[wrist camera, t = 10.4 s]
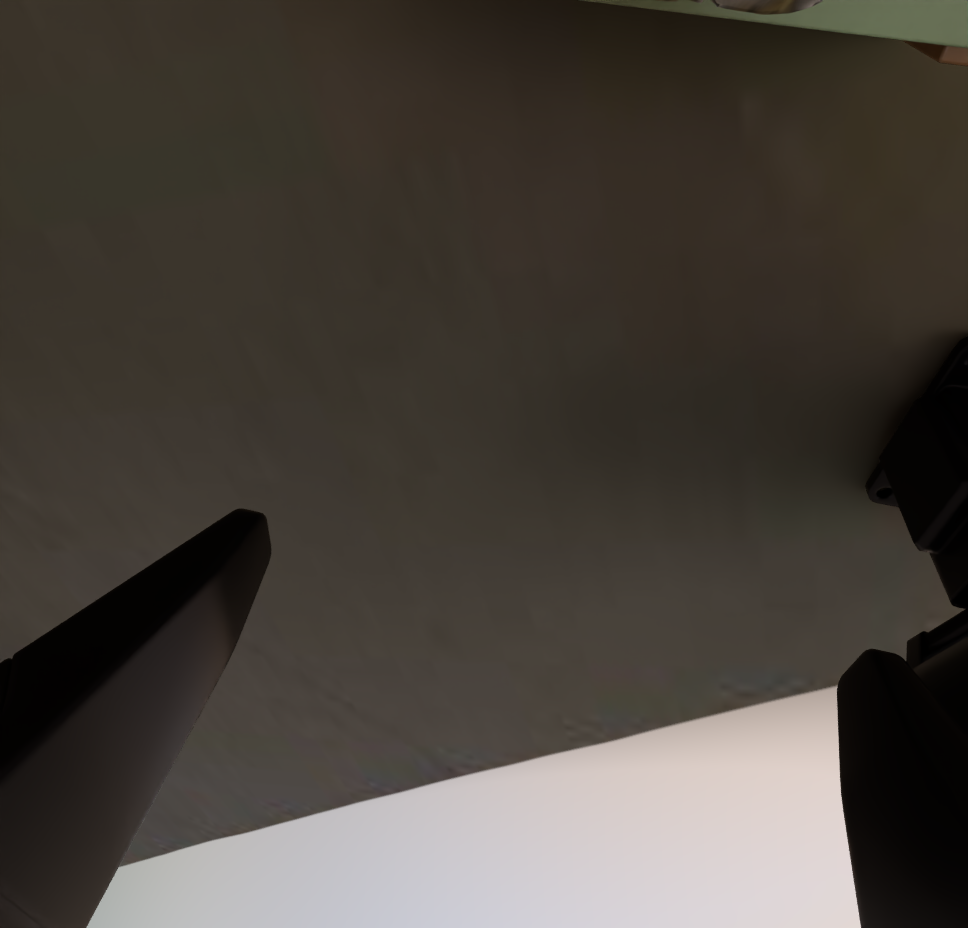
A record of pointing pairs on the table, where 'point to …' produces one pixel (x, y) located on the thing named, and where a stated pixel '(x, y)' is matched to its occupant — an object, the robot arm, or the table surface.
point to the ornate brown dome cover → (762, 5)
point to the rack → (857, 21)
